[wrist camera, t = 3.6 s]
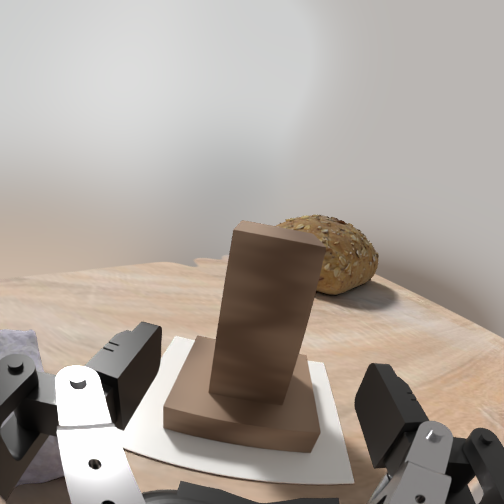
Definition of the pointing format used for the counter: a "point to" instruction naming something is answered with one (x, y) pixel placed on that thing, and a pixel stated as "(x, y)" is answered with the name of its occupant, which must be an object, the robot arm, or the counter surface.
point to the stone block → (48, 456)
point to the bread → (338, 252)
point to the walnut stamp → (255, 348)
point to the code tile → (230, 455)
